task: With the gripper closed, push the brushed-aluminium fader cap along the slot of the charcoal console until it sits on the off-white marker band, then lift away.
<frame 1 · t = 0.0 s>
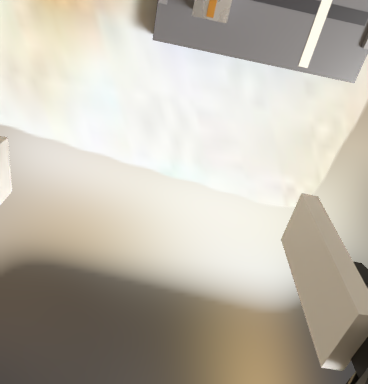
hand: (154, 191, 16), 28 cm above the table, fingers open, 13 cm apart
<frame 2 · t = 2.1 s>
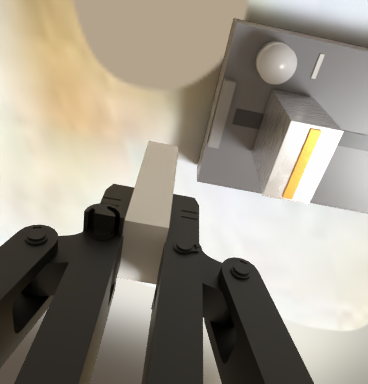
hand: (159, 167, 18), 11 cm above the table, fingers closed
console: (345, 128, 28), on the table
fader: (289, 144, 23), point 6 cm above the table, slide at -6.0 cm
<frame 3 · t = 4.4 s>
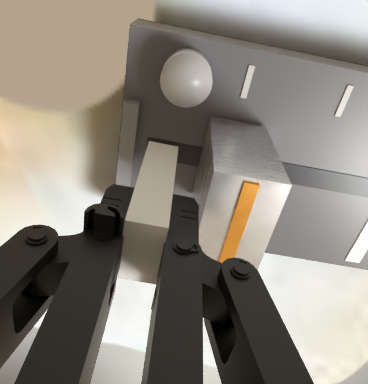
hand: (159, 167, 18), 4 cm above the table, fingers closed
console: (299, 157, 22), on the table
fader: (230, 192, 17), point 6 cm above the table, slide at -4.9 cm, touching gripper
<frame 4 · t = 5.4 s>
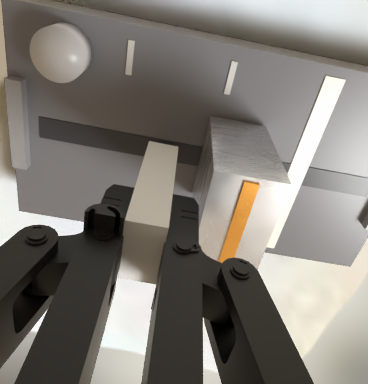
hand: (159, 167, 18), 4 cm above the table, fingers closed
console: (209, 140, 22), on the table
fader: (230, 191, 17), point 6 cm above the table, slide at 0.9 cm, touching gripper
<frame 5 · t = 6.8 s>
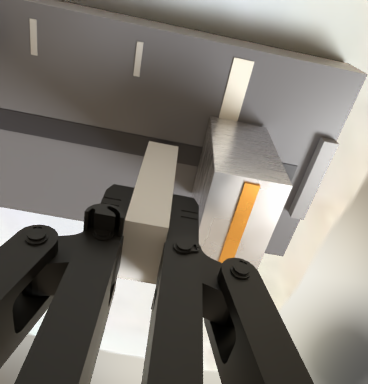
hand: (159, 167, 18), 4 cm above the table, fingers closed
console: (135, 126, 21), on the table
fader: (230, 192, 17), point 6 cm above the table, slide at 5.5 cm, touching gripper
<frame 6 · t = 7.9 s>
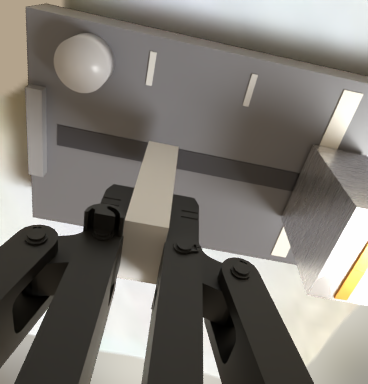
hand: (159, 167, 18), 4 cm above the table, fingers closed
console: (223, 150, 22), on the table
fader: (339, 220, 17), point 6 cm above the table, slide at 5.6 cm
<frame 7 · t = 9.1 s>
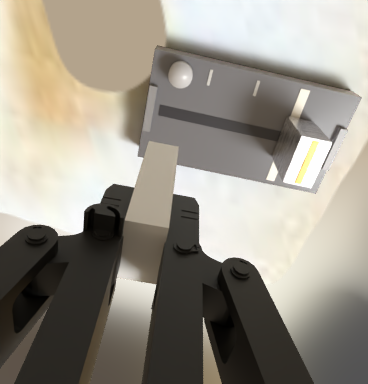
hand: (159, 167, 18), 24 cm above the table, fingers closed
console: (241, 121, 41), on the table
fader: (298, 150, 36), point 6 cm above the table, slide at 5.6 cm
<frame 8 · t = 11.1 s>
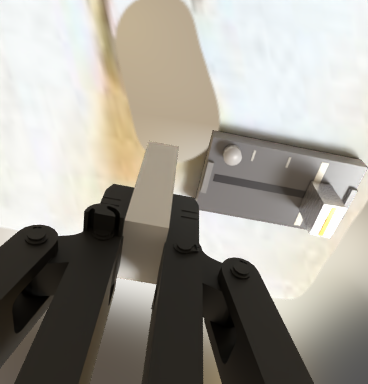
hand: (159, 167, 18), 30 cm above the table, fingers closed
console: (274, 180, 53), on the table
fader: (320, 208, 48), point 6 cm above the table, slide at 5.6 cm
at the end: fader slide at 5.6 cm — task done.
